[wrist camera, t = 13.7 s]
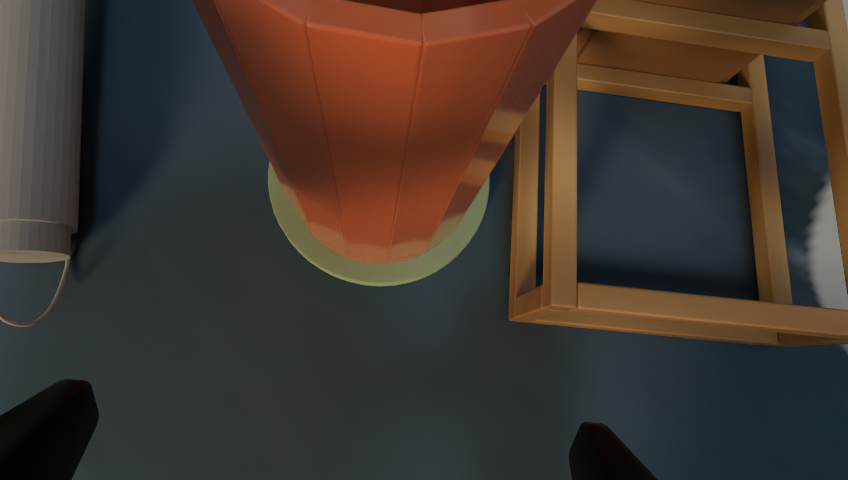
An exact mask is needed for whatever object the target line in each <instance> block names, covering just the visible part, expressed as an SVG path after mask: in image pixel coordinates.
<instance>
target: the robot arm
mask: <svg viewBox="0 0 848 480" xmlns="http://www.w3.org/2000/svg"><path fill="white" fill-rule="evenodd" d="M98 418H99V412H98V408H97V404H96V401H95V397H94V393H93V390H92V386H91V384H90V383H89V382H88V381H84V380H72V379H64V380H61V381H58V382H56V383H55V384H53V385H51V386H50V387H48V388H46V389H45V390H43V391H41V392H39V393H38V394H36V395H34V396H33V397H31V398H29V399H28V400H26V401H24V402H23V403H21V404H19V405H18V406H16V407H14V408H12V409H11V410H9V411H7V412H6V413H4V414H2V415H1V416H0V480H72V477H73V475H74V473H75V471H76V469H77V467H78V464H79V462H80V460H81V458H82V456H83V454H84V452H85V449H86V447H87V445H88V443H89V441H90V439H91V437H92V434H93V432H94V430H95V428H96V426H97V422H98ZM569 462H570V469H571V476H572V480H658V479H657V478H656V477H655V476H654V475H653V474H652V473H651V472H650V471H649V470H648V469H647V468H646V467H645V466H644V465H643V464H642V463H641V461H640V460H639V459H638V458H637V457H636V456H635V455H634V454H633V453H632V452H631V451H630V450H629V449H628V448H627V447H626V446H625V445H624V443H623V442H622V441H621V440H620V439H619V438H618V437H617V436H616V435H615V434H614V433H613V432H612V431H611V430H610V429H609V428H608V427H607V426H606V425H604V424H602V423H593V422H584V423H582V424H581V426H580V427H579V430H578V432H577V434H576V437H575V439H574V441H573V444H572V446H571V448H570V453H569Z"/></svg>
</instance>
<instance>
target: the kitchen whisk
mask: <svg viewBox="0 0 848 480" xmlns="http://www.w3.org/2000/svg"><path fill="white" fill-rule="evenodd" d="M84 27H85V0H0V262H13V263H44V262H57V261H63V260H66V262H65V268H64V271H63V275H62V278H61V281H60V284H59V287H58V289H57V292H56V294H55V297H54V299H53V301H52V303H51V304H50V306H49V307H48V309H47V310H46V311H45V312H44V314H42V315H41V316H40V317H39V318H37V319H35V320H33V321H30V322H16V321H12V320H10V319H9V318H7V317H5V316H4V315H3V314H2V313H1V312H0V319H1V320H2V321H4V322H6V323H7V324H10V325H13V326H20V327H24V326H31V325H34V324H37V323H38V322H40V321H42V320H43V319H44V318H46V317H47V316H48V315H49V313H50V312H51V311H52V310H53V308H54V307H55V305H56V303H57V301H58V299H59V297H60V295H61V292H62V289H63V287H64V284H65V281H66V277H67V274H68V271H69V267H70V250H71V234H74V233H76V232H77V231H78V209H79V179H80V148H81V118H82V88H83V58H84Z"/></svg>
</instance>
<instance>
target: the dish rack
mask: <svg viewBox="0 0 848 480" xmlns="http://www.w3.org/2000/svg"><path fill="white" fill-rule="evenodd" d="M805 18H807V23H808V28H805V27H799V26H797V25H798V24H799V23H800V22H802V21H803V20H804V19H805ZM764 55H768V56H775V57H781V58H788V59H795V60H801V61H808V62H813V64H814V71H815V77H816V84H817V91H818V98H819V104H820V111H821V118H822V125H823V132H824V138H825V145H826V152H827V159H828V165H829V172H830V179H831V186H832V193H833V199H834V206H835V213H836V220H837V226H838V233H839V239H840V247H841V253H842V259H843V267H844V274H845V281H846V286H847V294H848V31H847V26H846V20H845V14H844V9H843V2H842V0H597V1H596V3H595V5H594V6H593V8H592V9H591V11H590V13H589V14H588V16H587V18H586V19H585V21H584V22H583V24H582V26H581V27H580V29H579V31H578V32H577V34H576V35H575V37H574V39H573V40H572V42H571V43H570V45H569V47H568V48H567V50H566V52H565V53H564V55H563V56H562V58H561V60H560V61H559V63H558V64H557V66H556V68H555V69H554V71H553V73H552V74H551V76H550V77H549V79H548V81H547V82H546V84H545V85H547V96H546V148H545V199H544V251H543V284H542V285H540V286H538V287H536V254H537V211H538V168H539V125H540V94H539V95H538V97H537V98H536V100H535V102H534V103H533V105H532V107H531V108H530V110H529V111H528V113H527V115H526V116H525V118H524V119H523V121H522V123H521V124H520V126H519V128H518V129H517V131H516V132H515V157H514V183H513V210H512V237H511V263H510V290H509V316H508V319H509V321H516V322H526V323H528V322H530V323H537V324H547V325H557V326H567V327H578V328H588V329H598V330H608V331H619V332H629V333H639V334H649V335H660V336H670V337H680V338H691V339H701V340H711V341H721V342H732V343H742V344H752V345H766V346H774V347H795V346H817V345H836V344H848V310H839V309H831V308H821V307H812V306H802V305H793V303H792V295H791V286H790V277H789V269H788V260H787V252H786V243H785V235H784V226H783V218H782V209H781V201H780V192H779V183H778V175H777V166H776V158H775V149H774V141H773V132H772V124H771V115H770V107H769V98H768V89H767V81H766V72H765V64H764ZM736 74H737V81H738V86H733V85H727V84H724V83H726V82H727V81H728V80H729V79H731V78H732V77H733V76H734V75H736ZM577 90H584V91H591V92H598V93H605V94H612V95H619V96H627V97H634V98H641V99H648V100H655V101H663V102H670V103H677V104H684V105H691V106H698V107H706V108H713V109H720V110H727V111H734V112H741V121H742V131H743V141H744V151H745V161H746V172H747V182H748V192H749V202H750V212H751V222H752V232H753V242H754V252H755V262H756V273H757V283H758V293H759V301H755V300H745V299H736V298H726V297H717V296H707V295H698V294H688V293H679V292H669V291H660V290H651V289H641V288H632V287H622V286H613V285H603V284H594V283H584V282H578V283H577Z"/></svg>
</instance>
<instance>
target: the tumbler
mask: <svg viewBox="0 0 848 480" xmlns="http://www.w3.org/2000/svg"><path fill="white" fill-rule="evenodd" d="M192 1H193V3H194V5H195V7H196V9H197V11H198V13H199V15H200V17H201V19H202V21H203V23H204V26H205V28H206V30H207V32H208V34H209V36H210V38H211V40H212V42H213V44H214V46H215V48H216V51H217V53H218V55H219V57H220V59H221V61H222V63H223V65H224V67H225V69H226V71H227V73H228V75H229V78H230V80H231V82H232V84H233V86H234V88H235V90H236V92H237V94H238V96H239V98H240V100H241V103H242V105H243V107H244V109H245V111H246V113H247V115H248V117H249V119H250V121H251V123H252V125H253V127H254V130H255V132H256V134H257V136H258V138H259V140H260V142H261V144H262V146H263V148H264V150H265V152H266V155H267V157H268V159H269V161H270V163H271V165H272V167H273V169H274V171H275V173H276V175H277V177H278V179H279V182H280V184H281V186H282V188H283V190H284V192H285V194H286V196H287V198H288V200H289V202H290V204H291V206H292V208H293V209H294V210H295V212H296V213H297V215H298V217H299V218H300V220H301V221H302V223H303V225H304V226H305V227H306V229H307V230H308V231H309V232H310V233H311V234H312V235H313V236H314V237H315V238H316V239H317V240H318V241H319V242H320V243H322V244H323V245H324V246H326V247H327V248H329V249H330V250H332V251H334V252H336V253H338V254H340V255H342V256H344V257H347V258H350V259H353V260H356V261H361V262H365V263H375V264H389V263H397V262H403V261H407V260H410V259H413V258H416V257H419V256H421V255H423V254H425V253H427V252H429V251H430V250H432V249H433V248H435V247H437V246H438V245H439V244H440V243H442V242H443V241H444V240H445V239H446V238H447V237H448V236H449V235H450V234H451V233H452V232H453V231H454V230H455V229H456V228H457V226H458V225H459V223H460V221H461V220H462V218H463V217H464V215H465V213H466V212H467V210H468V208H469V207H470V205H471V204H472V202H473V200H474V199H475V197H476V196H477V194H478V192H479V191H480V189H481V187H482V186H483V184H484V183H485V181H486V179H487V178H488V176H489V174H490V173H491V171H492V170H493V168H494V166H495V165H496V163H497V162H498V160H499V158H500V157H501V155H502V153H503V152H504V150H505V149H506V147H507V145H508V144H509V142H510V141H511V139H512V137H513V136H514V134H515V132H516V131H517V129H518V128H519V126H520V124H521V123H522V121H523V119H524V118H525V116H526V115H527V113H528V111H529V110H530V108H531V107H532V105H533V103H534V102H535V100H536V98H537V97H538V95H539V94H540V92H541V90H542V89H543V87H544V86H545V84H546V82H547V81H548V79H549V77H550V76H551V74H552V73H553V71H554V69H555V68H556V66H557V64H558V63H559V61H560V60H561V58H562V56H563V55H564V53H565V52H566V50H567V48H568V47H569V45H570V43H571V42H572V40H573V39H574V37H575V35H576V34H577V32H578V31H579V29H580V27H581V26H582V24H583V22H584V21H585V19H586V18H587V16H588V14H589V13H590V11H591V9H592V8H593V6H594V5H595V3H596V1H597V0H192Z"/></svg>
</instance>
